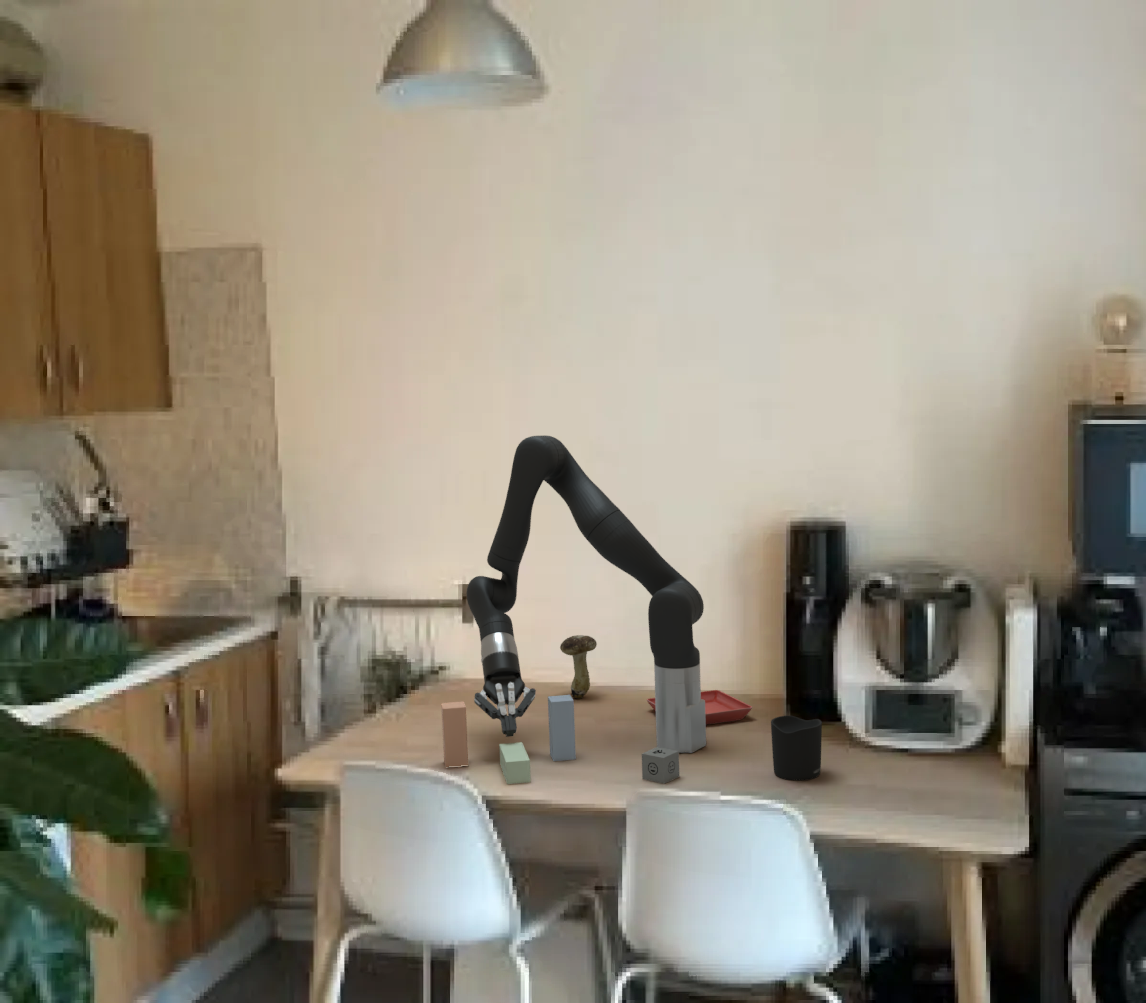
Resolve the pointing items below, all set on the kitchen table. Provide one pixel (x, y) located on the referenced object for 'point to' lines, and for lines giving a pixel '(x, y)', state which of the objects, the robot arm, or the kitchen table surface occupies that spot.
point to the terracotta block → (454, 734)
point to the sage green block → (515, 763)
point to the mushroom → (579, 662)
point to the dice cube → (660, 765)
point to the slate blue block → (561, 727)
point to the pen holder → (796, 747)
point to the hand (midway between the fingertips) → (510, 734)
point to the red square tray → (719, 707)
